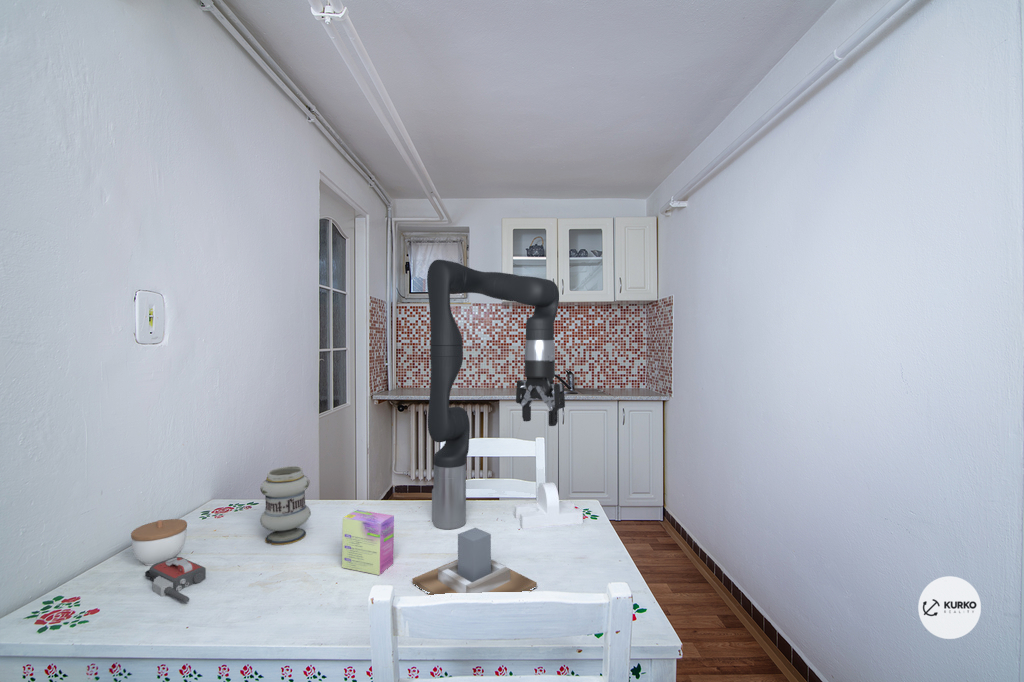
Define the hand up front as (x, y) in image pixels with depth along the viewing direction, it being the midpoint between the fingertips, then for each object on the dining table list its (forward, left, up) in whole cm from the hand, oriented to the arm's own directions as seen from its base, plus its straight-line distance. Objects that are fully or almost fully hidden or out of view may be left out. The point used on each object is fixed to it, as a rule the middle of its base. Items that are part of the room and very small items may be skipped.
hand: (539, 423), depth 116 cm
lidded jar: (-61, -68, -32) cm, 97 cm away
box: (-23, -34, -32) cm, 52 cm away
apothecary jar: (-53, -42, -32) cm, 75 cm away
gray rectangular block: (+1, -22, -31) cm, 38 cm away
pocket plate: (+1, -22, -32) cm, 39 cm away
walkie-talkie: (-44, -67, -33) cm, 86 cm away
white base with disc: (-12, +17, -33) cm, 39 cm away
